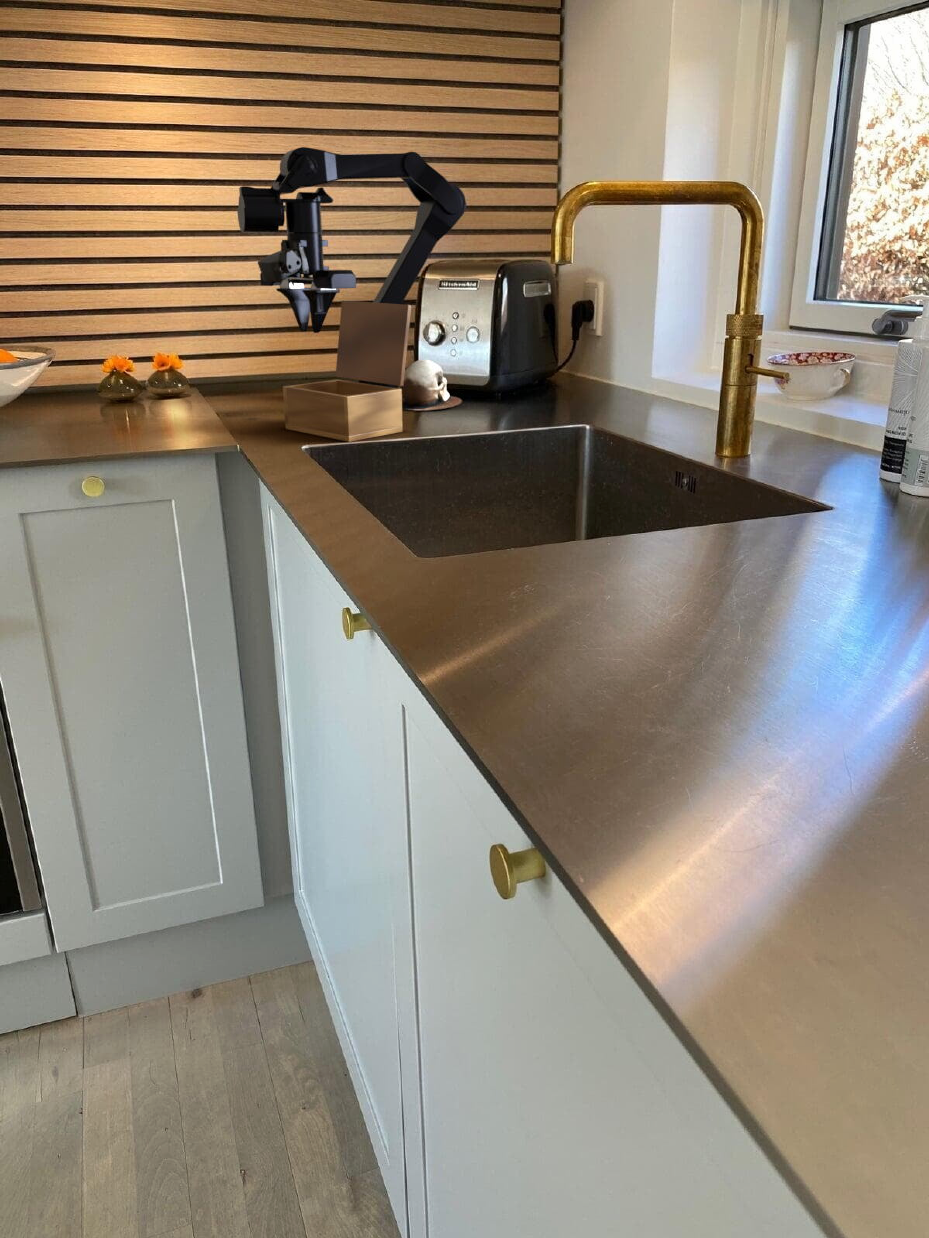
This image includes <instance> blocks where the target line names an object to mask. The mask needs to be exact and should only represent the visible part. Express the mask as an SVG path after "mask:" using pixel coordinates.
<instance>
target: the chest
mask: <svg viewBox="0 0 929 1238" xmlns="http://www.w3.org/2000/svg"><path fill="white" fill-rule="evenodd" d="M282 394H283V395H282V396H283V410H284V424H285V429H286V430H289V431H295V432H299V433H303V434H309V435H314V436H319V437H323V438H329V439H334V440H338V441H342V442H347V443H351V442H355V441H361V440H365V439H371V438H377V437H381V436H382V437H383V436H388V435H391V434H392V435H393V434H397V433H403V432H404V431H403V409H402V389H401V388H399V387H398V388H392V387H385V386H378V385H371V384H364V383H359V382H357V381H351V380H344V379H343V380H342V379H330V380H323V381H315V382H307V383H301V384H300V383H299V384H293V385H285V386H284V385H283V386H282Z"/></svg>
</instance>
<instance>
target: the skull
mask: <svg viewBox="0 0 929 1238" xmlns="http://www.w3.org/2000/svg"><path fill="white" fill-rule="evenodd" d="M447 384H448V381H447V379H446V377H444V371H443V369H442V367H441V366H440V365H439V364H437V363H436V362H434V361H432V360H429V359H418V360H416V361H413V362H412V364H410V365H409V366H408V367H407V368H405V374H404V384H403V386H400V389H402V395H403V397H404V398H402V410H405V411H433V410H434V411H435V410H443V409H447V408H453V407H455V406H458V405H460V404H462V402H463V400H462V399H461V398H459V397H457V396H453V395H450V393H449V391H448V390H447Z"/></svg>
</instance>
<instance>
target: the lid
mask: <svg viewBox="0 0 929 1238" xmlns="http://www.w3.org/2000/svg"><path fill="white" fill-rule="evenodd" d="M340 308H341V309H340V317H339V318H340V319H339V330H338V341H337V352H336V353H337V355H336V365H335V366H336V367H335V377H336V378H342V379H347V380H348V379H349V380H356V381H359V380H362V381H369V382H376V383H383V384H390V385H397V386H398V387H401V386H403V384H404V374H405V370H406V364H407V355H408V354H407V353H408V352H407V351H408V343H409V333H410V325H411V314H412V305H410V304H403V303H402V304H386V303H372V302H368V301H355V300H353V301H351V300H341V306H340Z"/></svg>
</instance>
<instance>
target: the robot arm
mask: <svg viewBox="0 0 929 1238" xmlns="http://www.w3.org/2000/svg"><path fill="white" fill-rule="evenodd" d="M373 179H374V180H378V179H401V180H402V182H404V184H405V185H406V187H407V188H408V190H409V191H410V192H411V195H412V196H413V197H414V198H415V199H416V200H417V201H418V202H419V203H420V204H419V206H418V209H417V212H416V216H415V223H414V227H413V231H412V233H411V234H410V236H409V238H408V240H407V242H406V243H405V245H404V247H403V249H401V252H400V254H399V255H398V257H397V259H396V261H395V263H394V264H393V266H392V268H391V269H390V271H389V273H388V275H387V276H386V277H385V278H386V279H384V282H383V284H382V286H381V287H380V289H379V291H378V293H377V294H376V296H375V298H374V300H373V301H372V302H371V303H386V304H402V305H403V303H404V301H405V299H406V297H407V295H408V293H409V292H410V291H411V288H412V287H413V285H414V283H415V282H416V280H417V278H418V277H419V274H420V273H421V271H422V270H423V267H424V266H425V264H426V262H427V261H428V259H429V257H430V255H431V254H432V252H433V250H434V249H435V246H436V245H437V244H438V242H439V241H440V240H441V239H442V238H443V237H444V236H445V235H446V234H448V233H449V232H450V231H451V230H452V229H453V228H454V226H455V225H456V224H457V223H458V221H459V220H461V218H462V217H463V216H464V214H465V212H466V208H467V200H466V196H465V194H464V191H463V190H462V189H461V188H460V187H458V186H457V185H455V184H451V183H450V182H449V181H448V180H447V178H446V177H444V176H443V175H442V174H441V173H440V172H439V171H437V170H436V169H435V168H433V167H432V166H431V165H429V164H428V163H427V161H426V160H424V158H423V157H422V156H421V155H420V154H419V153H417V152H416V151H407V152H401V153H358V154H357V153H355V154H354V153H353V154H352V153H351V154H350V153H349V154H341V153H335V152H331V151H327V150H324V149H318V148H313V147H308V146H307V147H306V146H302V147H301V146H300V147H297V148H294V149H291V150H288V151H287V152H285V153H284V155H283V156H282V157H281V160H280V163H279V173H278V175H277V177H276V178H275V180H274V181H273V183H272V185H271V186H270V188H269V187H268V188H267V187H266V188H265V187H254V186H248V185H247V186H244V185H243V186H240V187H239V188H238V191H239V195H238V208H237V222H238V226H239V227H238V228H239V231H240V232H241V233H243V234H246V233H247V234H251V233H252V234H254V233H255V234H278V232H279V228H280V227H284V225H286V239H282V240H281V242H280V250H279V251H276V252H273V253H272V254H269V255H267V256H264V257H263V258H261V259H259V260H258V261H257V265H258V268H259V271H260V273H259V277H260V278H259V279H260V286H266V287H272V286H279V287H277V288H275V290H276V291H277V293H281V294H282V295H283V296H284V297H285V298H286V299H287V301H288V303H289V305H290V307H291V310H292V312H293V315H294V318H295V320H296V323H297V325H298V328H299V331H301V332H302V333H303V332H308V328H309V323H311V327H312V332H313V333H314V334H318V333H320V332H321V330H322V327H323V326H324V325H323V324H324V322H325V319H326V317H327V315H328V312H329V310H330V308H331V306H332V304H333V302H334V300H335V297H336V295H337V294H339V293H340V291H341V289H357V275H356V274H355V273H354V272H353V270H352V269H330V266H328V265H327V266H326V265H325V264H324V247H329V240H328V239H323V228H322V225H323V224H322V207H321V206H322V205H323V204H324V205H325V204H332V203H334V199H333V197H331V196H330V195H329V194H328V193H327V191H326V190H325V188H324V187H318V188H317V189H316V190H315V191H298V192H297V194H296V197H295V198H281V196H283V195H289V194H294V193H295V192H296V191H297V190H299V189H305V188H311V187H314V186H319V185H323V184H327V183H328V184H329V183H332V182H336V181H343V180H373ZM321 204H322V205H321ZM285 223H286V224H285ZM305 285H310V287H305ZM310 320H311V322H310ZM358 383H364V384H371V385H378V386H385V387H392V388H398V389H399V386H397V385H390V384H383V383H376V382H369V381H362V380H358ZM402 398H404V397H403V395H402Z"/></svg>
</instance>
